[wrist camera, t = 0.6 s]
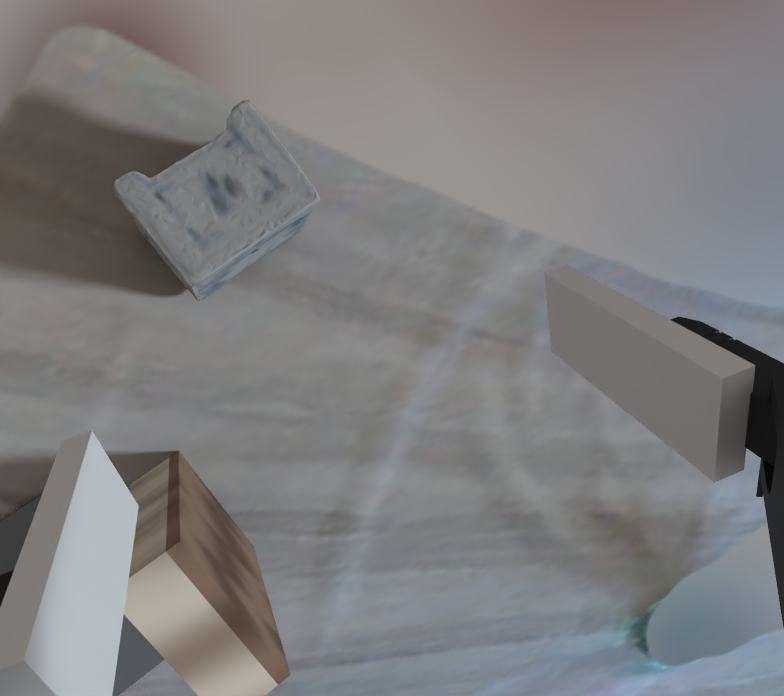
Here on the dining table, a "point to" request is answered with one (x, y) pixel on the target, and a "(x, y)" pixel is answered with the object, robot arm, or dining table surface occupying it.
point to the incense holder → (221, 203)
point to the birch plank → (200, 588)
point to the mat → (135, 651)
